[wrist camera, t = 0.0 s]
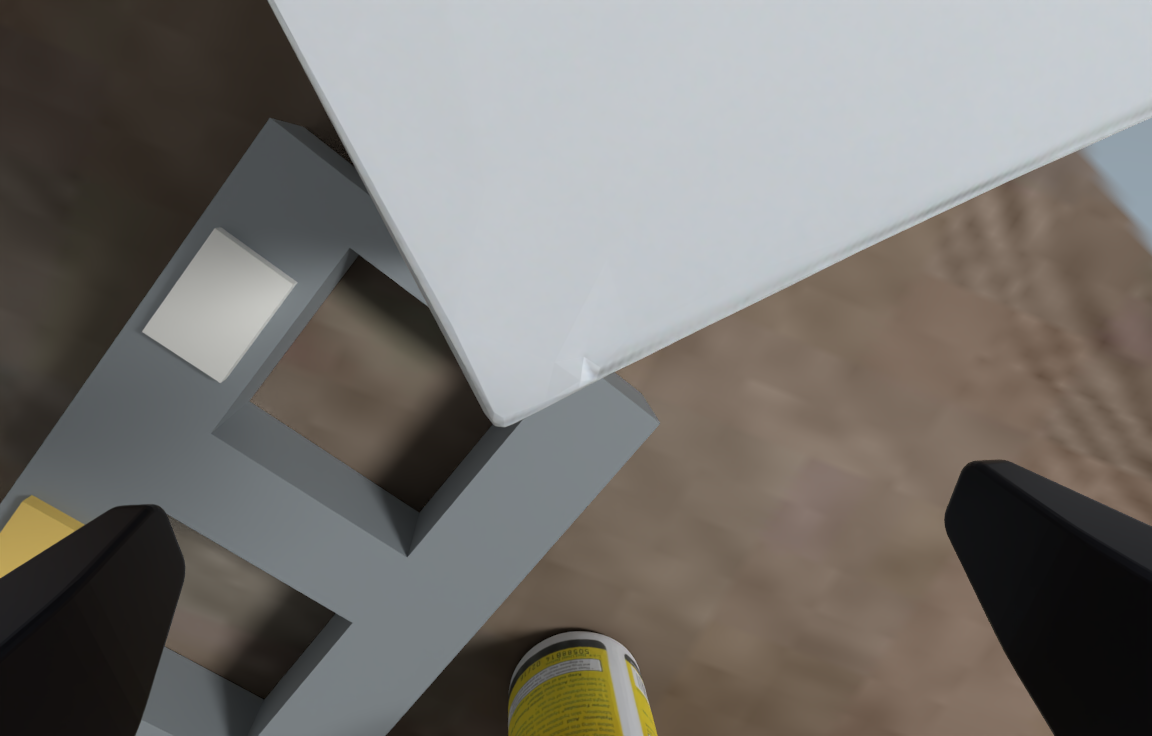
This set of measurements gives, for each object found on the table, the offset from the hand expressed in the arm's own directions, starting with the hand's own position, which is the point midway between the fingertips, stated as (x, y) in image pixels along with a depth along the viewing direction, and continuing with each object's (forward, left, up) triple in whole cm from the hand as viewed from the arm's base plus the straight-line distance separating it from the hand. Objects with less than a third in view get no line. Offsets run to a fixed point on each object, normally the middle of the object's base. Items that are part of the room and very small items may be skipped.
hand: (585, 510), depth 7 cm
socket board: (-10, +2, -15) cm, 19 cm away
